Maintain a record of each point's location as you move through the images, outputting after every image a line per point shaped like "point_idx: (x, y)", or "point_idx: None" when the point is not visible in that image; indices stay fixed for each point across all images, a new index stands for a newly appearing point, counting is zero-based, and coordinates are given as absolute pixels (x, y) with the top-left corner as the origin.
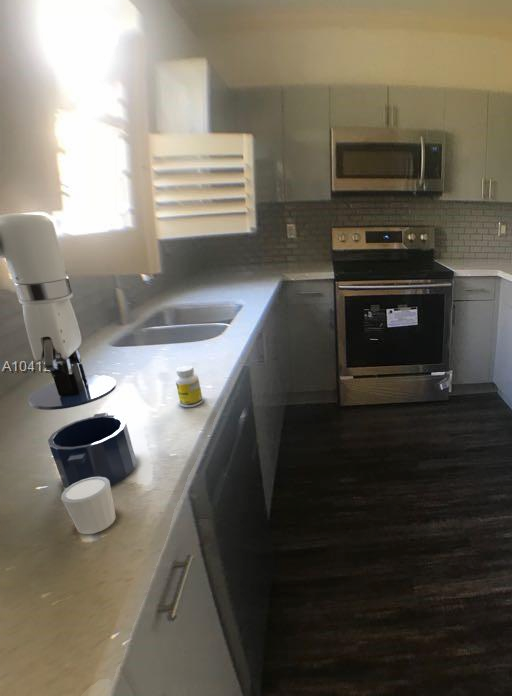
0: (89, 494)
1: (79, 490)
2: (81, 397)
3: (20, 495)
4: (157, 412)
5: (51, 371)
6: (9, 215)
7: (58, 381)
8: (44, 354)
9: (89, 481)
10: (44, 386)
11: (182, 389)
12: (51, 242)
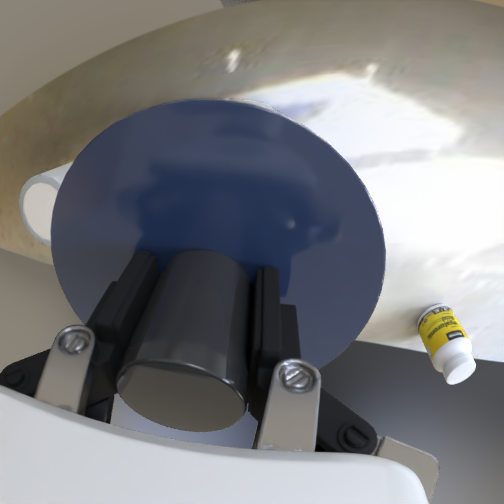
0: (33, 220)
1: (44, 202)
2: None
3: (219, 27)
4: (443, 265)
5: (16, 363)
6: None
7: (91, 317)
8: None
9: None
10: (331, 151)
11: (437, 339)
12: None
